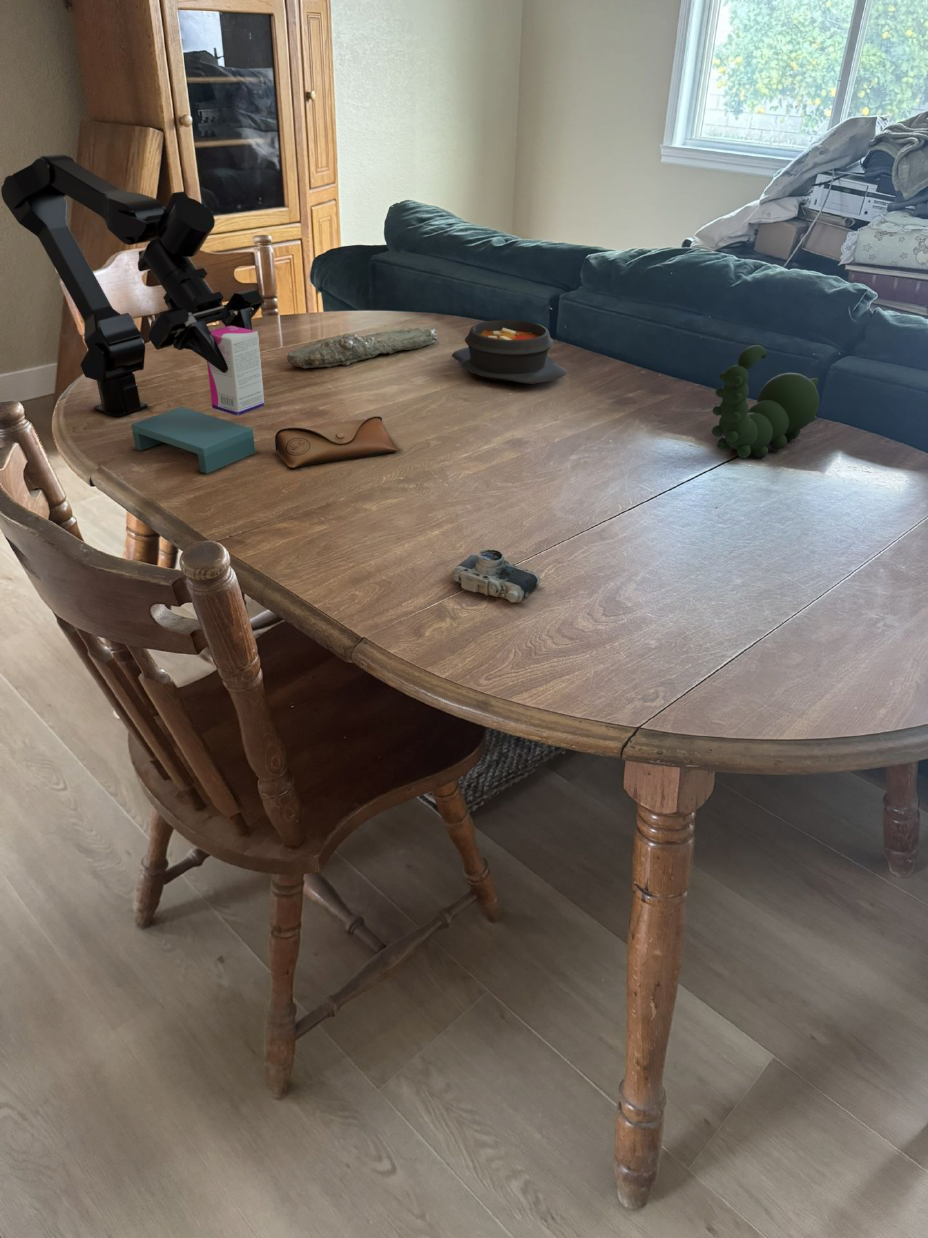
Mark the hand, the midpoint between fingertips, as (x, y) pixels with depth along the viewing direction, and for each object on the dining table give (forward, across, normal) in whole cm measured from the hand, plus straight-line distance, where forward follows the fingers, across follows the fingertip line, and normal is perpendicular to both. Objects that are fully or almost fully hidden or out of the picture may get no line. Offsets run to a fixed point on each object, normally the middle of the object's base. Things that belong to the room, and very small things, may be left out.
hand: (241, 365), depth 135 cm
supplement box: (+4, 0, -6) cm, 7 cm away
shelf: (+5, +5, -14) cm, 16 cm away
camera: (+47, +13, +29) cm, 57 cm away
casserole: (+18, -57, 0) cm, 60 cm away
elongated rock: (-2, -50, -21) cm, 54 cm away
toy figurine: (+55, -50, +37) cm, 83 cm away
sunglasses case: (+18, -7, -1) cm, 19 cm away
